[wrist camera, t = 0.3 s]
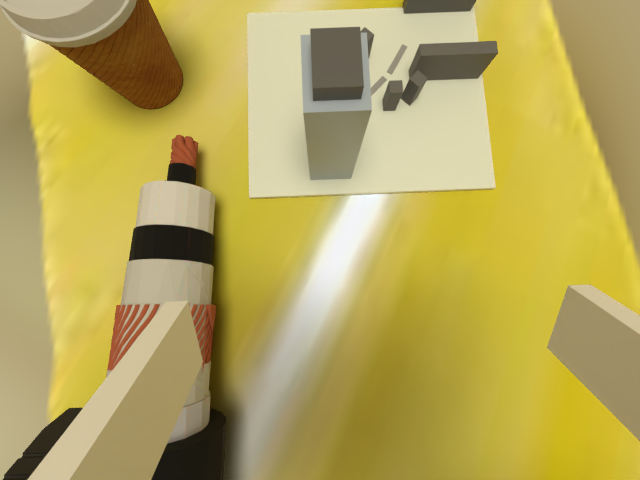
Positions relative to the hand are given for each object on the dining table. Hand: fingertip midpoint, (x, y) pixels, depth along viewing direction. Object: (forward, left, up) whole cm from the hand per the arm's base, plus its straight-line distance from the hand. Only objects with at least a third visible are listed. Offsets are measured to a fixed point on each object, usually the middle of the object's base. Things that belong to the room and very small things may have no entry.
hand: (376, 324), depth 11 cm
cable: (-2, +15, -18) cm, 23 cm away
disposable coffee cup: (+23, +19, -18) cm, 34 cm away
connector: (+14, +1, -17) cm, 22 cm away
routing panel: (+20, -3, -18) cm, 27 cm away
